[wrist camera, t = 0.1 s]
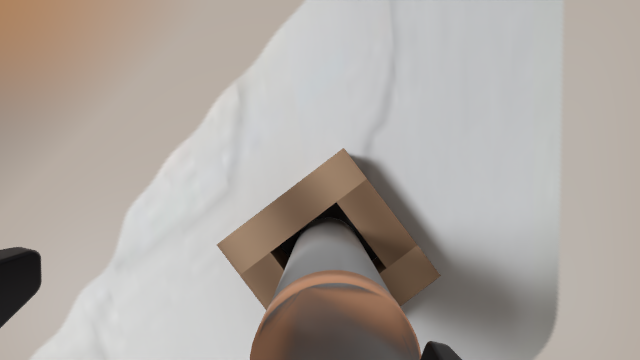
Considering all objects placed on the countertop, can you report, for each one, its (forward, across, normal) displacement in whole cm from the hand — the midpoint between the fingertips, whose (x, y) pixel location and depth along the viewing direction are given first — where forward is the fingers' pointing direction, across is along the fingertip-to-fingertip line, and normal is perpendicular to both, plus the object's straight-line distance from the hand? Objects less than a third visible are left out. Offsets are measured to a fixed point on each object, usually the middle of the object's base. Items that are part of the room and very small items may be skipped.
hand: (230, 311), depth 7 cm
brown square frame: (+14, -3, +5) cm, 16 cm away
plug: (+14, -3, +5) cm, 16 cm away
